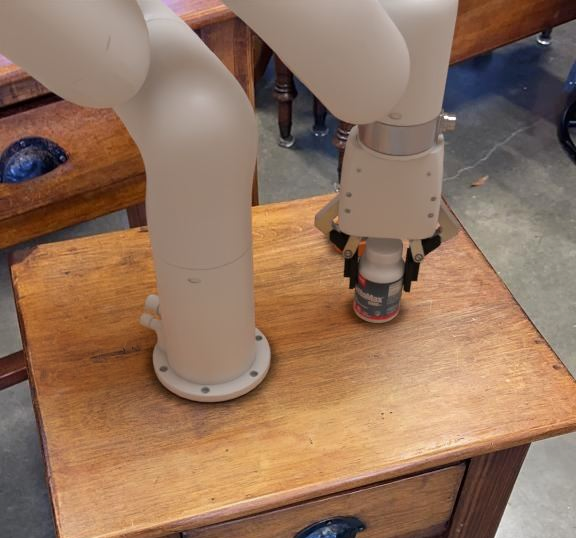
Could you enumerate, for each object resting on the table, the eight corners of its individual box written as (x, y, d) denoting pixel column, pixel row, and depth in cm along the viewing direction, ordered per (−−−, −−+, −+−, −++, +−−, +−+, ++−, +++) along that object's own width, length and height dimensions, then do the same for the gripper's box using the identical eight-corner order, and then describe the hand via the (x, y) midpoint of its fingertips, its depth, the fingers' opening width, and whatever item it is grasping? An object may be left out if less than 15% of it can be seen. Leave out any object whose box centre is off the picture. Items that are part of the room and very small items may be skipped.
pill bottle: (343, 309, 95) (348, 243, 88) (372, 288, 97) (380, 221, 90) (379, 331, 93) (388, 265, 85) (408, 308, 95) (418, 242, 88)
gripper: (488, 108, 79) (455, 266, 94) (309, 99, 80) (304, 257, 94) (493, 151, 75) (458, 309, 89) (303, 142, 75) (299, 300, 90)
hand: (379, 281), depth 92 cm, fingers closed on pill bottle, 5 cm apart
